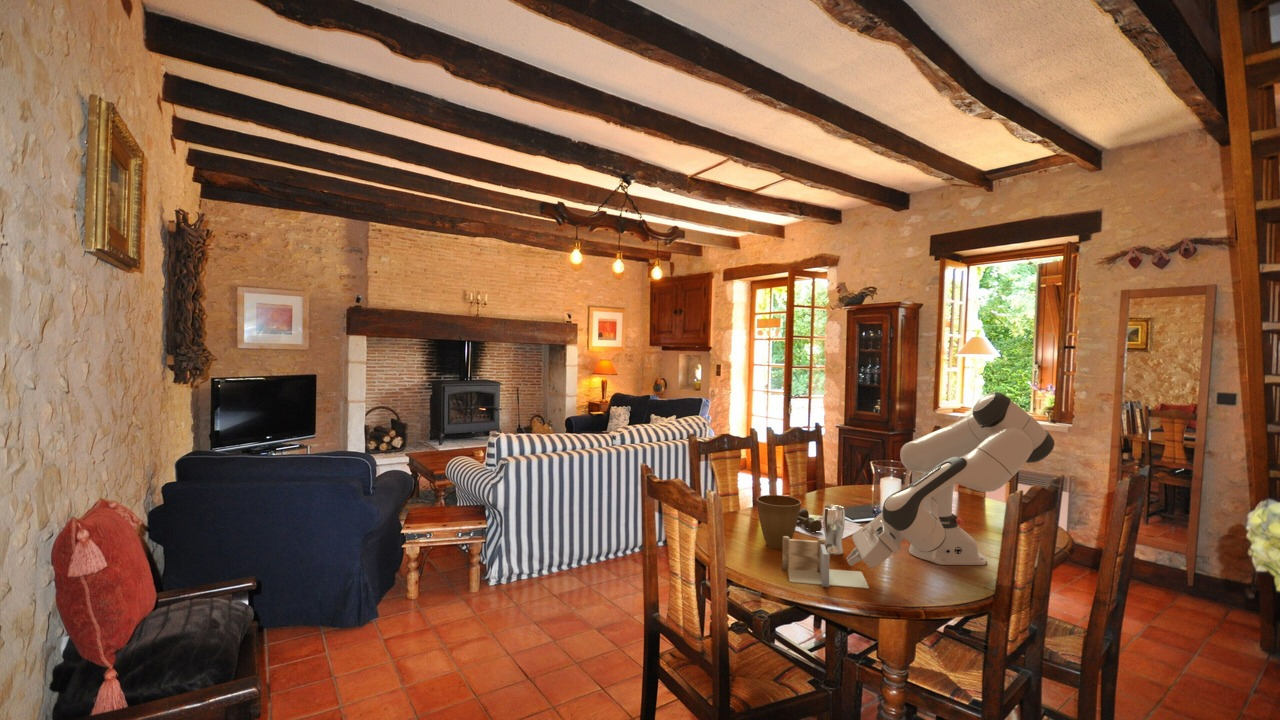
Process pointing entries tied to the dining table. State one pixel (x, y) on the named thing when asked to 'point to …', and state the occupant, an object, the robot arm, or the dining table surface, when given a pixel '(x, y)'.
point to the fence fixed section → (801, 554)
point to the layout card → (835, 578)
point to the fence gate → (824, 565)
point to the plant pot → (778, 518)
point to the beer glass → (833, 528)
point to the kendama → (809, 521)
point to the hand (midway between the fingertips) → (848, 562)
